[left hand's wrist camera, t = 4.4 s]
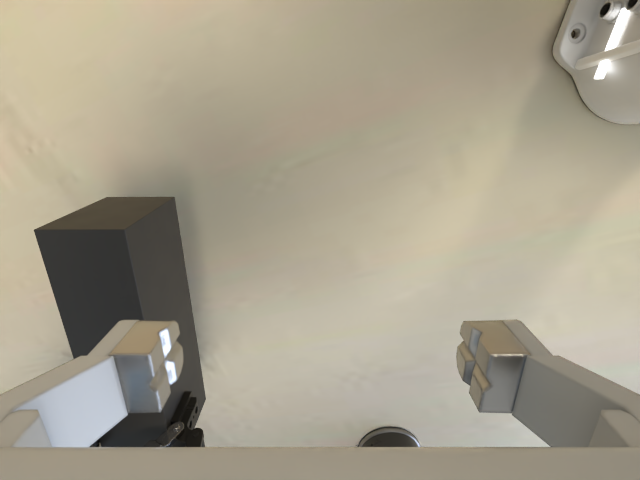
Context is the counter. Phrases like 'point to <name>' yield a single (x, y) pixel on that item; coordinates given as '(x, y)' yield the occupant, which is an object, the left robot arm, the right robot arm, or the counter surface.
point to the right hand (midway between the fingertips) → (156, 398)
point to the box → (124, 290)
